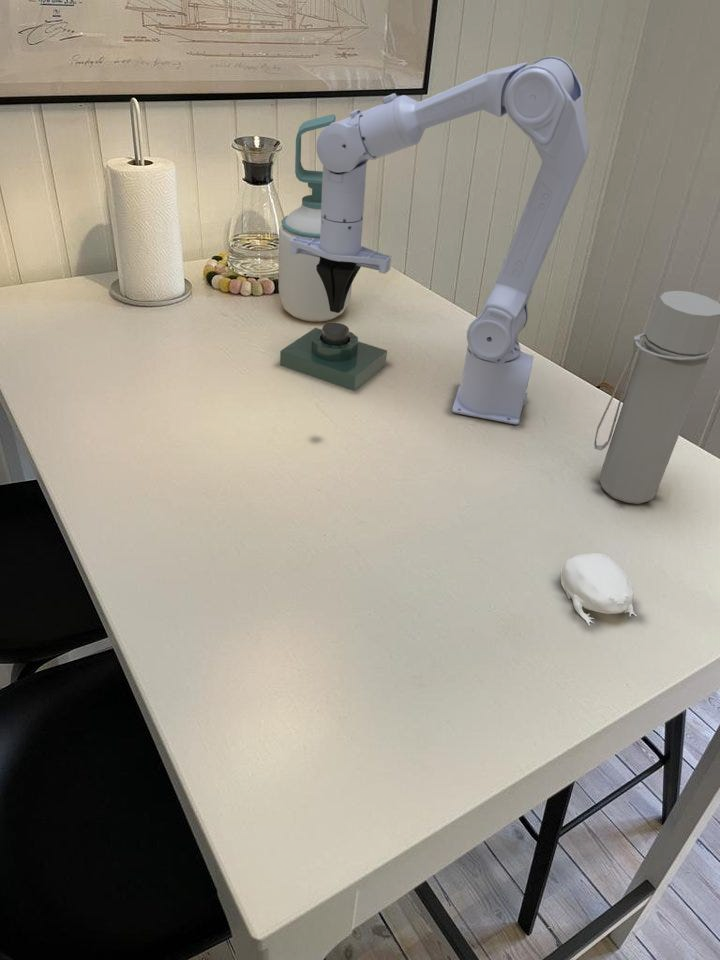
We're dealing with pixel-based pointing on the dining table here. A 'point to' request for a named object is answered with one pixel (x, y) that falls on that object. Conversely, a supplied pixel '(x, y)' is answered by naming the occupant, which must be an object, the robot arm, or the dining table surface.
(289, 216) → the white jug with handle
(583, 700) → the dining table surface
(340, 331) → the dark grey push button
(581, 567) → the chubby white toad
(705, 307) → the water bottle
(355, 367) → the green push button box
